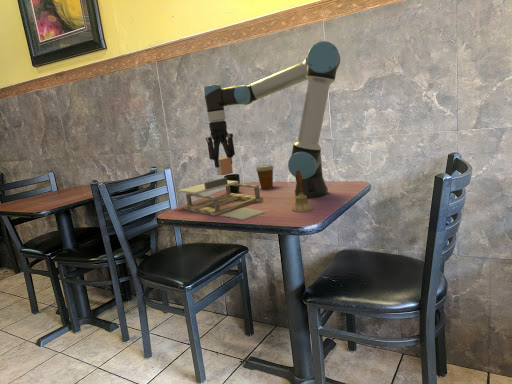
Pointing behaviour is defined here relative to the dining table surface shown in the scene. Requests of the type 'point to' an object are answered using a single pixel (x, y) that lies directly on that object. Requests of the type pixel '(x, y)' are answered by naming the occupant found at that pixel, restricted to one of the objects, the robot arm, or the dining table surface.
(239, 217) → the pad
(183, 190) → the sliding lid
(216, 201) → the open wooden rack
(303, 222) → the dining table surface
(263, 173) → the disposable coffee cup
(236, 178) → the mug
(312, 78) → the robot arm
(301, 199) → the hand bell
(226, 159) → the block
